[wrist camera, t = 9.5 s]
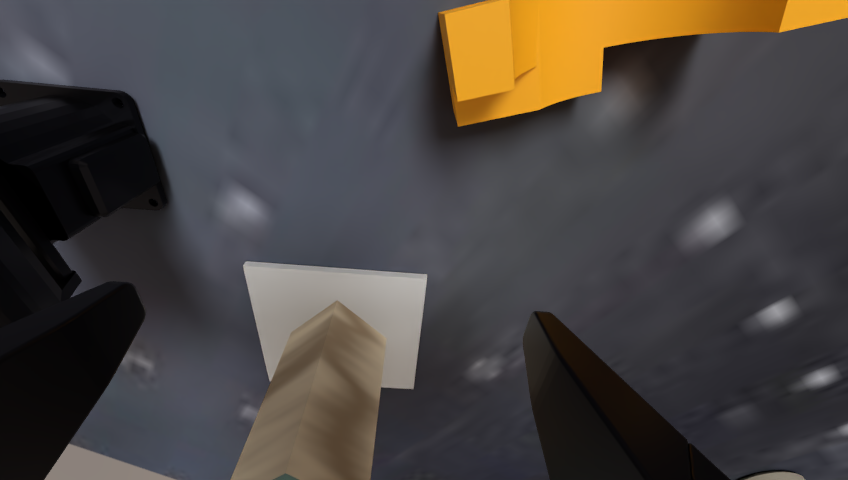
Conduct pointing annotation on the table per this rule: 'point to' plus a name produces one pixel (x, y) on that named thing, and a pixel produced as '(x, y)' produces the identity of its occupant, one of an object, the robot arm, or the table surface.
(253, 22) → the table surface
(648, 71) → the table surface
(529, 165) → the table surface
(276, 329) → the grey pad
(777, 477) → the travel mug
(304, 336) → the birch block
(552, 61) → the pipe clamp
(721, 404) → the table surface
